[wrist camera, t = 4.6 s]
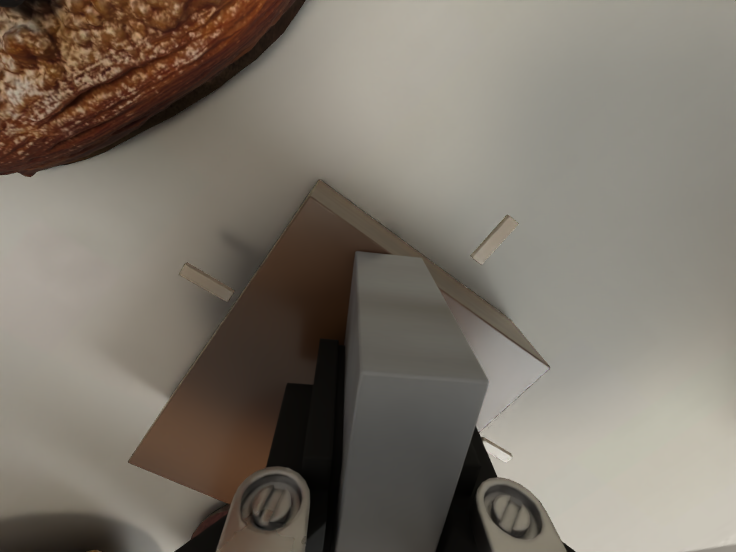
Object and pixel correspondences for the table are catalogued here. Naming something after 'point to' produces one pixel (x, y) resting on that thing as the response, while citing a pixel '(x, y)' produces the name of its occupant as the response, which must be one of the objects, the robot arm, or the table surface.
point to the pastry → (116, 68)
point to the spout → (402, 408)
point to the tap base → (306, 345)
